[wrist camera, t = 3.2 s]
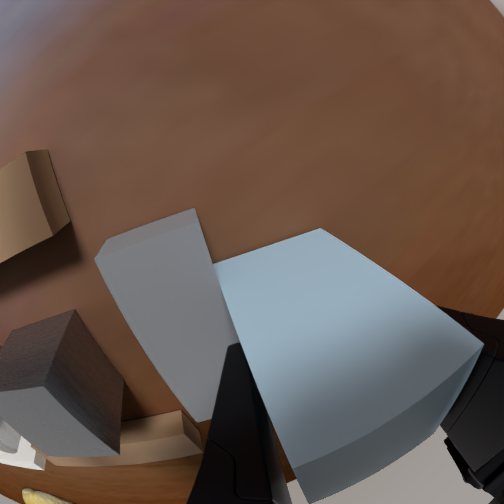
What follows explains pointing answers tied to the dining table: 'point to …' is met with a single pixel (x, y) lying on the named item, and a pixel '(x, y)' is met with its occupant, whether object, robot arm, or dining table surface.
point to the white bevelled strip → (24, 457)
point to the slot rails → (40, 228)
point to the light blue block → (295, 342)
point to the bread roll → (41, 497)
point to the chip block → (61, 389)
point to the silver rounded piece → (8, 437)
